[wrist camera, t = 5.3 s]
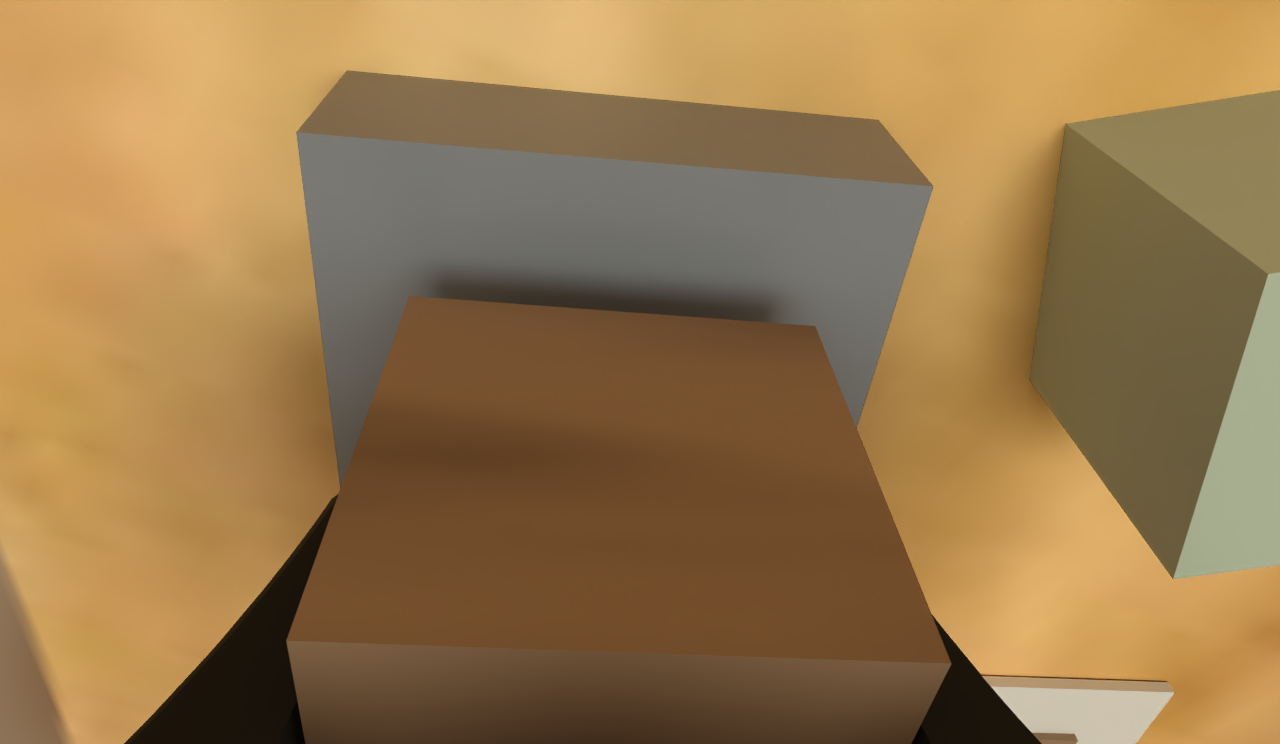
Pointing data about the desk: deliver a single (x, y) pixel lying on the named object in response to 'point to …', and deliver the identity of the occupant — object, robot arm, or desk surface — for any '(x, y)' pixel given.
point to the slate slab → (597, 216)
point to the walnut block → (610, 544)
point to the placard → (1083, 707)
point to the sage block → (1172, 324)
